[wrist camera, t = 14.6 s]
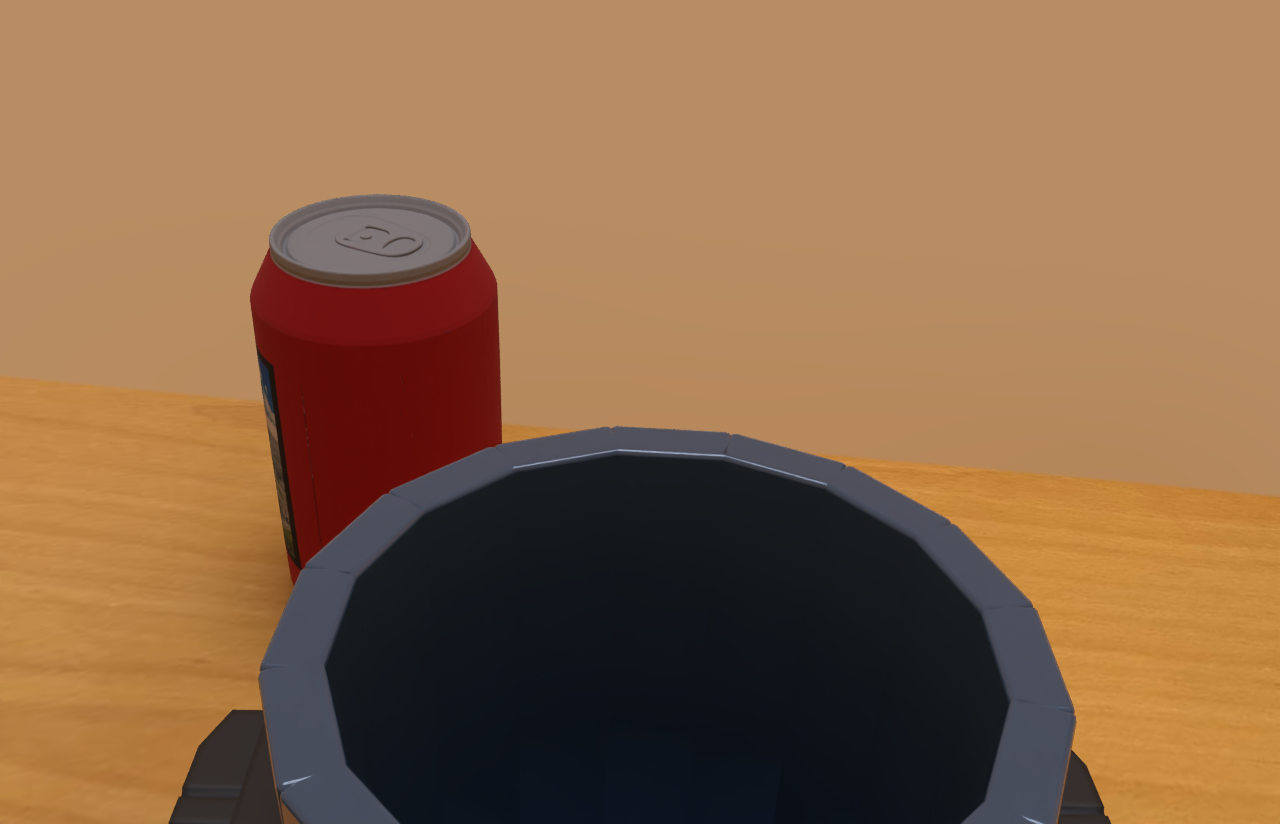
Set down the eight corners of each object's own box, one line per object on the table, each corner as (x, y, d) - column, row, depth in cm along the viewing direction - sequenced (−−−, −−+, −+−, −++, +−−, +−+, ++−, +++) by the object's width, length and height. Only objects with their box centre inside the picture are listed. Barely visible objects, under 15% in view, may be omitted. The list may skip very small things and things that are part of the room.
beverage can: (378, 492, 43) (349, 169, 36) (543, 551, 40) (542, 215, 34) (245, 602, 37) (183, 248, 31) (425, 677, 35) (398, 309, 29)
